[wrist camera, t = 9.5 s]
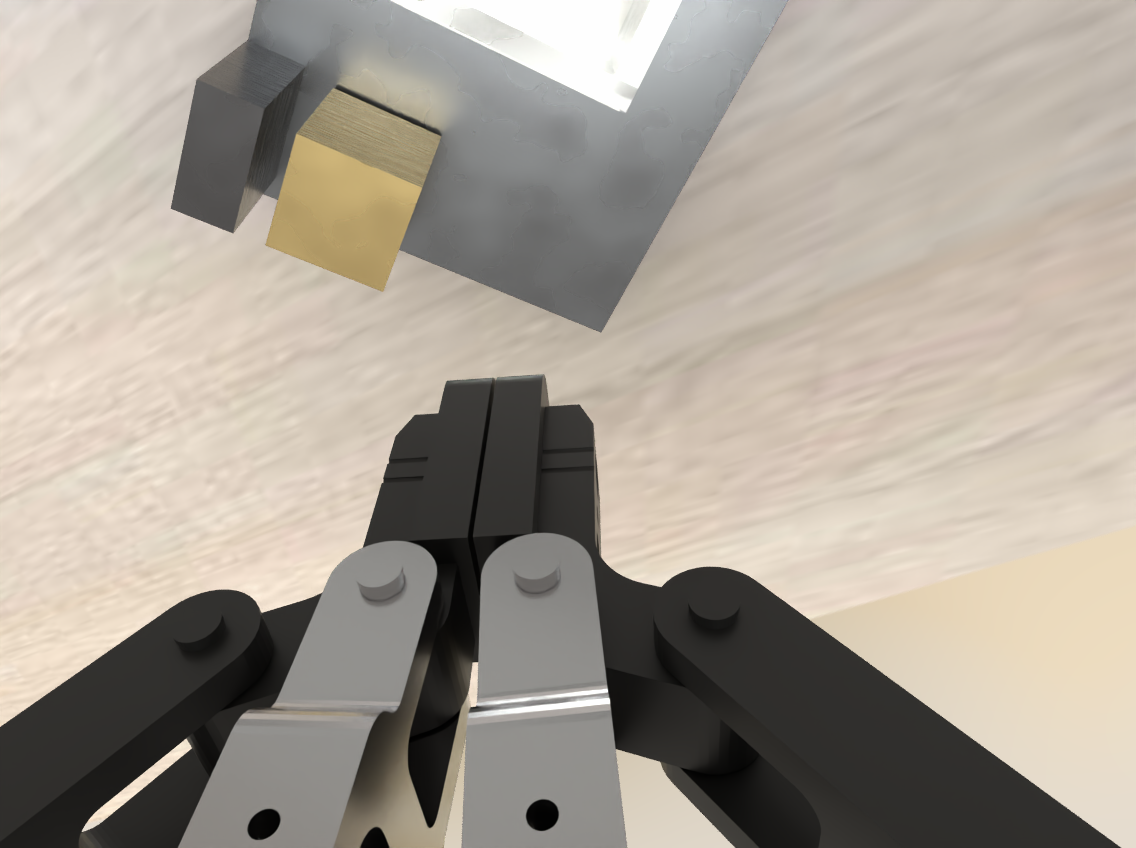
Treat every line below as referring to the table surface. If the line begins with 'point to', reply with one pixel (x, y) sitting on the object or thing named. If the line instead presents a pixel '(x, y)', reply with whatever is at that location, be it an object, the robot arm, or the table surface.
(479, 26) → the press frame
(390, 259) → the slider
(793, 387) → the table surface
